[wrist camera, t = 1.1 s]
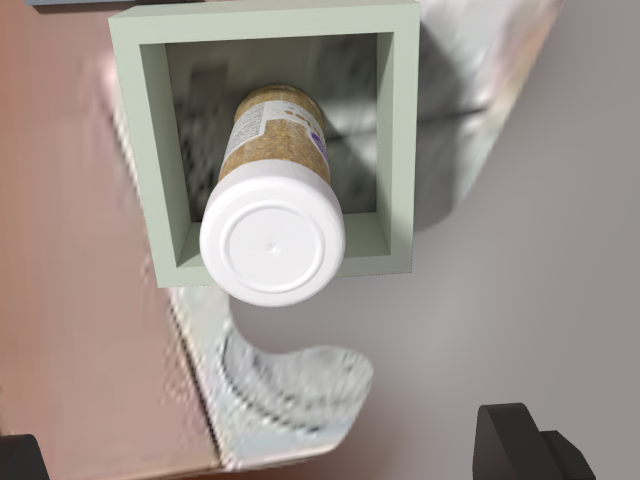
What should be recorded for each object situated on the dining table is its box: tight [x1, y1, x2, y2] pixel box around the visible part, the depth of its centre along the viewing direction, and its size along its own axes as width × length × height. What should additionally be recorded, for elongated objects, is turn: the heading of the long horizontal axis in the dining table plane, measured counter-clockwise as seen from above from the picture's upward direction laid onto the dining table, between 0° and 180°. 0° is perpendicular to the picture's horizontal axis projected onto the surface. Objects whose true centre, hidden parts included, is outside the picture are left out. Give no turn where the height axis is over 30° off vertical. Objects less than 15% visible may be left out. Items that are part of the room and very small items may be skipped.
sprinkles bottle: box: [199, 84, 346, 307], centre depth 24 cm, size 5×5×13 cm
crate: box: [108, 0, 420, 288], centre depth 28 cm, size 12×12×5 cm
